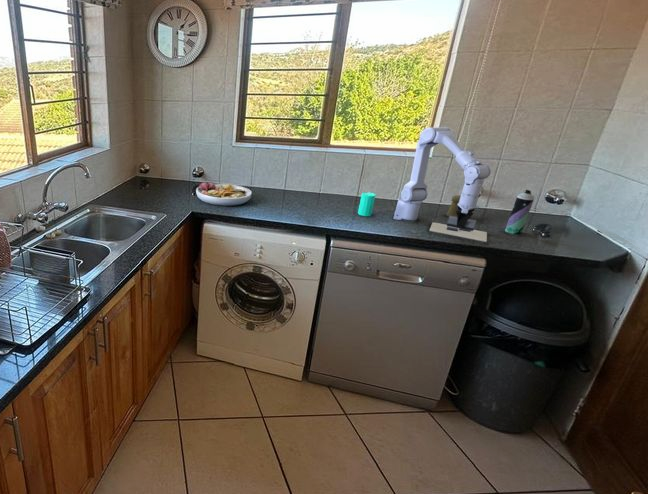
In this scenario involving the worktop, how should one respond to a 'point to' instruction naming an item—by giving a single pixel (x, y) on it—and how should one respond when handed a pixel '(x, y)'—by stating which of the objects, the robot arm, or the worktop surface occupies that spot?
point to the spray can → (520, 212)
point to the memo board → (459, 232)
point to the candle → (366, 204)
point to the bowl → (223, 194)
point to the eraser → (468, 226)
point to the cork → (453, 206)
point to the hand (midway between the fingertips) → (460, 225)
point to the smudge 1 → (452, 229)
